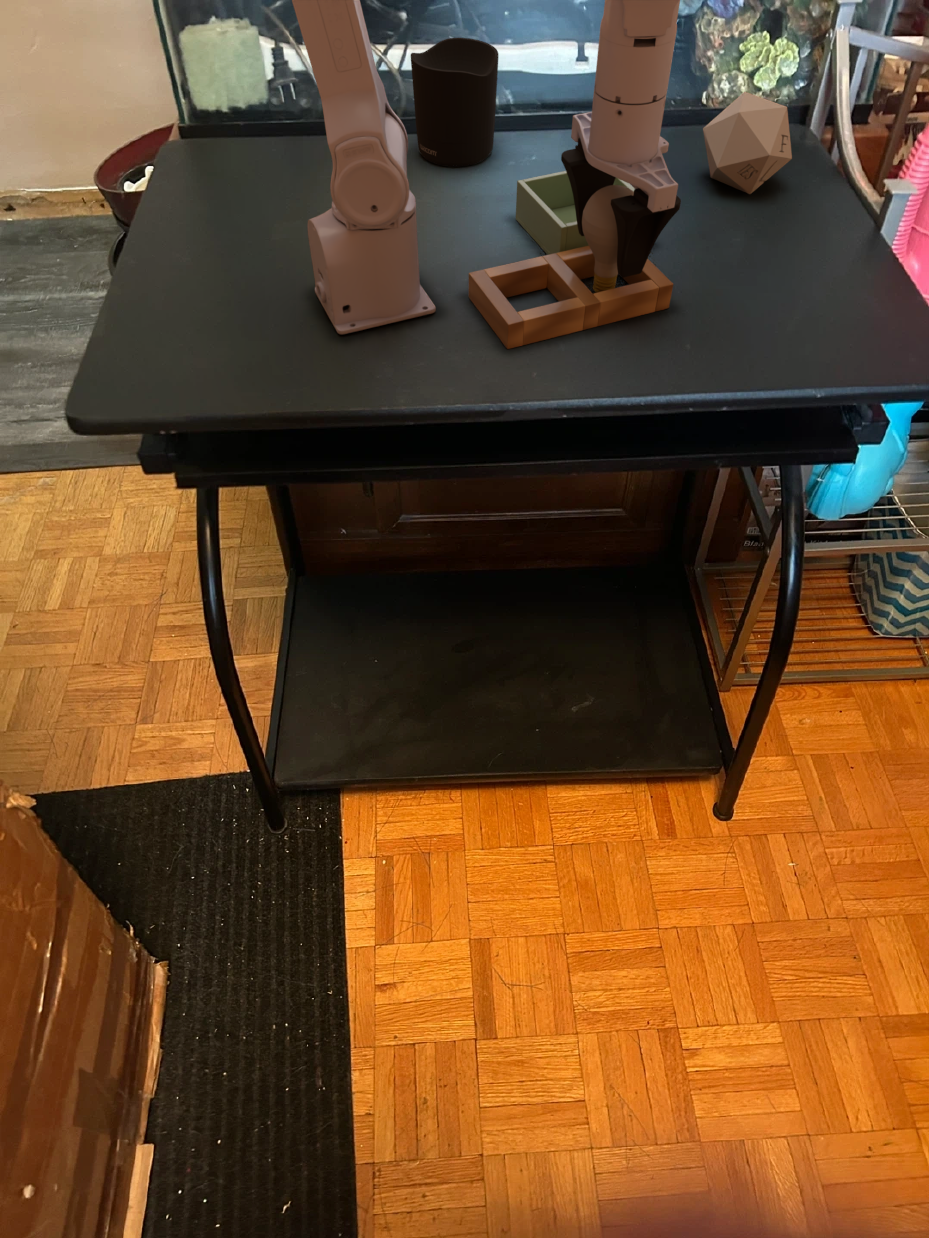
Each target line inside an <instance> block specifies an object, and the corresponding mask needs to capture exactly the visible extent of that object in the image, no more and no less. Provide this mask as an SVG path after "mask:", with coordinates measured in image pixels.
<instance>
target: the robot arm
mask: <svg viewBox="0 0 929 1238" xmlns="http://www.w3.org/2000/svg"><path fill="white" fill-rule="evenodd" d="M291 3H292V6H293V9H294V13H295V16H296V19H297V22H298V23H297V24H298V26H299V29H300V33H301V36H302V39H303V43H304V46H305V50H306V52H307V56H308V59H309V64H310V66H311V70H312V73H313V77H314V79H315V83H316V87H317V91H318V93H319V96H320V101H321V106H322V112H323V121H324V127H325V128H324V129H325V133H326V140H327V141H326V142H327V146H328V148H329V152H330V155H331V156H330V157H331V161H332V172H331V177H330V187H329V190H330V191H329V192H330V197H331V199H332V201H331V208H329V209H328V210H326V211H324V212H323V213H321V214H318V215H316V216H314V217H311V218H308V220H307V227H306V228H307V238H308V245H309V252H310V257H311V265H312V271H313V277H314V284H315V286H314V293H315V295H316V297H317V298H318V300H319V302H320V304H321V306H322V307H323V309H324V311H325V313H326V315H327V317H328V318H329V320H330V322H331V324H332V325H333V328H334V329H335V331H336V334H339V335H347V334H351V333H355V332H359V331H363V330H367V329H372V328H376V327H380V326H385V325H388V324H393V323H398V322H402V321H406V320H410V319H414V318H418V317H422V316H423V317H424V316H427V315H431V314H434V313H436V311H437V307H436V305H435V304H434V302H433V301H432V299H431V298H430V296H429V295H428V294H427V292H426V291H425V289H424V288H423V286H422V285H421V282H420V280H421V279H420V263H419V261H420V260H419V243H418V241H419V240H418V223H417V222H418V220H417V219H418V218H417V200H416V197H415V195H414V194H413V192H412V191H411V190H410V182H409V179H408V163H407V162H408V159H407V158H408V157H407V155H408V153H409V137H408V133H407V129H406V127H405V125H404V123H403V121H402V120H401V119H400V117H399V116H398V115H397V114H396V113H395V111H394V110H393V108H392V107H391V105H390V103H389V100H388V97H387V94H386V89H385V86H384V82H383V81H382V79H381V77H380V75H379V72H378V70H377V66H376V61H375V56H374V53H373V48H372V45H371V41H370V37H369V32H368V29H367V24H366V21H365V16H364V11H363V7H362V4H361V0H291ZM680 3H681V0H604V5H603V14H602V15H603V16H602V18H601V21H600V24H599V25H600V26H599V38H598V48H597V55H596V57H597V58H596V66H595V67H596V68H595V76H594V77H595V78H594V85H593V86H594V87H593V95H592V96H593V97H592V106H591V111H588V112H584V113H578V114H574V115H572V123H571V134H570V138H571V140H573V141H574V142H575V143H577V144H575V146H574V148H571V149H567V150H564V151H563V152H561V153H560V154H561V156H560V160H561V163H562V165H563V167H564V169H565V171H566V172H567V175H568V178H569V181H570V184H571V188H572V192H573V198H574V204H575V211H576V219H577V225H578V231H579V234H580V235H581V236H584V233H583V228H582V216H583V211H584V208H585V206H586V204H587V202H588V200H589V199H590V197H591V196H592V195H593V194H594V193H595V192H597V191H598V190H600V189H601V188H604V187H606V186H610V185H613V184H614V181H615V178H618V179H620V180H623V181H625V182H627V183H629V184H630V185H631V186H633V187H634V188H635V189H634V195H633V196H632V195H629V196H625V197H620V198H615V199H612V200H611V207H612V209H613V212H614V215H615V220H616V225H617V234H618V249H617V270H618V275H619V277H620V278H622V279H623V278H624V277H628V276H632V275H636V274H640V273H641V272H642V270H643V268H644V266H645V263H646V261H647V259H648V260H649V256H650V254H651V252H652V250H653V248H654V245H655V244H656V241H657V240H658V238H659V236H660V234H661V233H662V232H663V230H664V229H665V227H666V226H667V224H668V223H669V222H670V221H671V220H672V218H674V216H675V215H676V214H677V213H678V212H679V210H680V209H681V203H682V199H681V198H680V197H679V196H678V195H677V194H678V189H679V183H678V182H677V181H676V180H675V179H674V178H673V176H672V175H671V173H670V171H669V169H668V166H667V163H666V161H665V158H664V155H663V154H666V153H668V151H669V147H670V143H669V142H668V141H667V140H666V139H665V138H664V137H662V136H661V131H662V126H663V119H664V114H665V113H664V112H665V107H666V101H667V93H668V87H669V83H670V75H671V70H672V69H671V68H672V64H673V63H672V62H673V57H674V51H675V50H674V49H675V43H676V39H677V31H678V24H677V22H678V17H679V9H680Z"/></svg>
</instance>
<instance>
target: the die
mask: <svg viewBox="0 0 929 1238" xmlns="http://www.w3.org/2000/svg"><path fill="white" fill-rule="evenodd" d="M702 133H703V138H704V145H705V150H706V156H707V162H708V163H707V165H708V169H709V175H710V178H711V179H713V180H715V181H718V182H720V183H722V184H725V185H727V186H729V187H731V188H734V189H736V190H739V191H741V192H743V193H746V194H748V195H751V194H752V193H754V192H755V191H756V190H757V189H758V188H759V187H760V186H762V185H763V184H764V183H765V182H766V181H768V180H769V179H770V178H771V177H772V176H774V175H775V174H776V173H777V172H778V171H779V170H781V169H782V168H783V167H784V166H785V165H787V164H788V163H789V162H790V161H791V160H792V159H793V154H792V144H791V133H790V124H789V111H788V107H787V106H786V105H783V104H780V103H777V102H774V101H772V100H769V99H767V98H764V97H761V96H758V95H755V94H753V93H750V92H747V91H744V92H742V93H741V94H740V95H738V97H737V98H736V99H734V100H733V101H732V102H731V103H730V104H729V105H728V106H727V107H726V108H724V109H723V110H722V111H721V112H720V113H719V114H718V115H717V116H715V117H714V118H713V119H712V120H710V122H709V123H707V124H706V125H705V126H704V127H703V128H702Z"/></svg>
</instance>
